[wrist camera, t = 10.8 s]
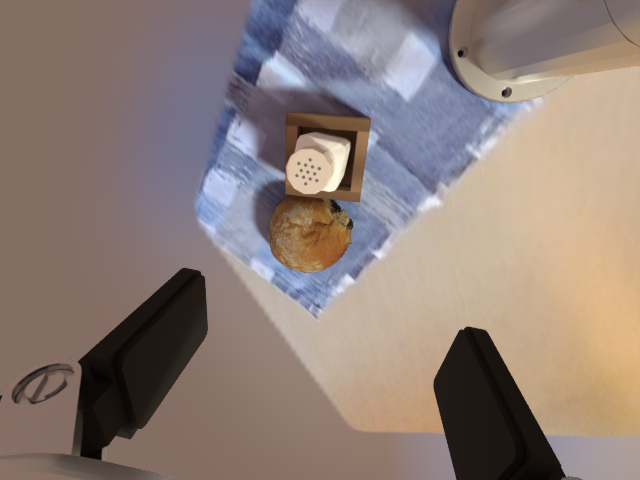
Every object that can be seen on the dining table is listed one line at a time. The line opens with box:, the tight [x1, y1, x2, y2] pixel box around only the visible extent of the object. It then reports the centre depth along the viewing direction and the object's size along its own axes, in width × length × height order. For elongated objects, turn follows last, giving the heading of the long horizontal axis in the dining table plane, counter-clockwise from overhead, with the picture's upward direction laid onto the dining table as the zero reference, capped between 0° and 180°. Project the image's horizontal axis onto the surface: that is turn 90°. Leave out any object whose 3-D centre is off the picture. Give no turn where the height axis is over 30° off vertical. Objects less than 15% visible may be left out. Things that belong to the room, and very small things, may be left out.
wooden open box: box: [285, 112, 371, 202], centre depth 28 cm, size 7×7×6 cm
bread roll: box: [270, 195, 353, 273], centre depth 33 cm, size 10×10×8 cm
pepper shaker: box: [286, 131, 351, 194], centre depth 23 cm, size 4×4×10 cm
